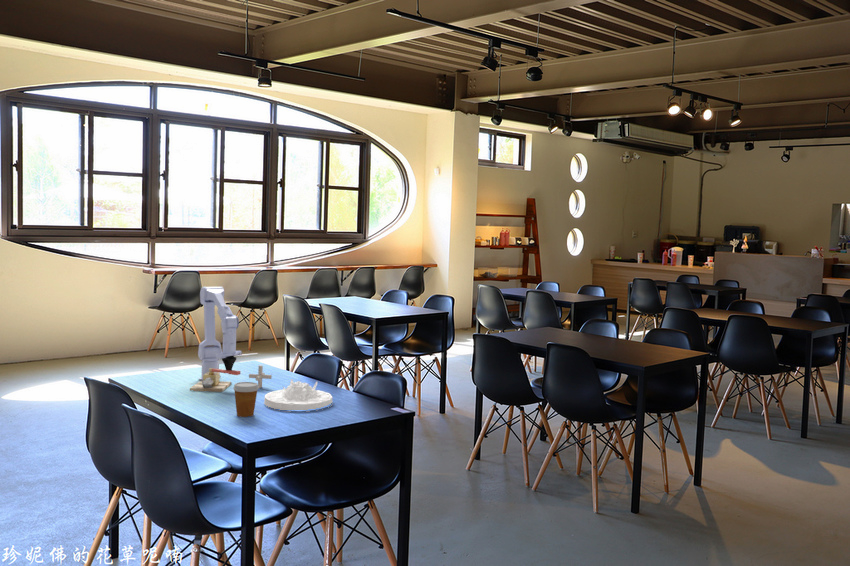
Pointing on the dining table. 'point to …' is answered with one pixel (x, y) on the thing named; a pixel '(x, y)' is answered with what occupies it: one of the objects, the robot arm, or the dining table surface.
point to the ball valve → (210, 379)
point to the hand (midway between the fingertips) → (228, 373)
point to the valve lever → (225, 371)
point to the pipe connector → (260, 376)
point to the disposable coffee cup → (245, 398)
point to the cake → (297, 397)
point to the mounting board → (218, 388)
